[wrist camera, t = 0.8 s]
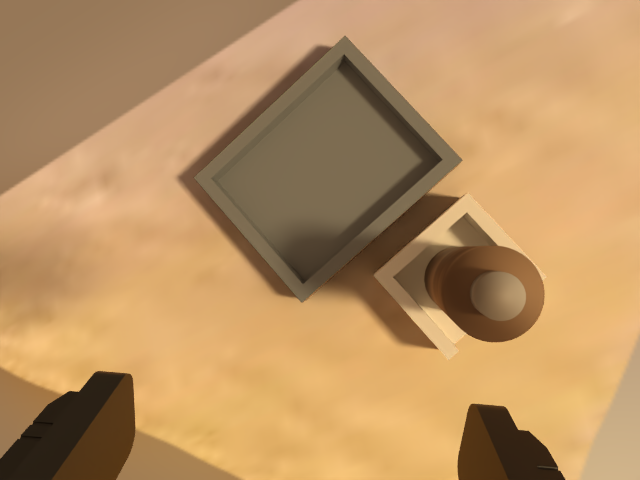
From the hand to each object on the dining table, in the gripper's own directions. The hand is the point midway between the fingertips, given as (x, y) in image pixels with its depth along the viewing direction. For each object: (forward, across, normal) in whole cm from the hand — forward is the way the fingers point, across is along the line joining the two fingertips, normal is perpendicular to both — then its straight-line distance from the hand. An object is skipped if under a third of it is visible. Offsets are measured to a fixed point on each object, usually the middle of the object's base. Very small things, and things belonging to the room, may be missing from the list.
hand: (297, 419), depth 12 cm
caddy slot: (+26, -11, +6) cm, 29 cm away
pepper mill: (+25, -11, +6) cm, 28 cm away
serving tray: (+30, 0, 0) cm, 30 cm away
